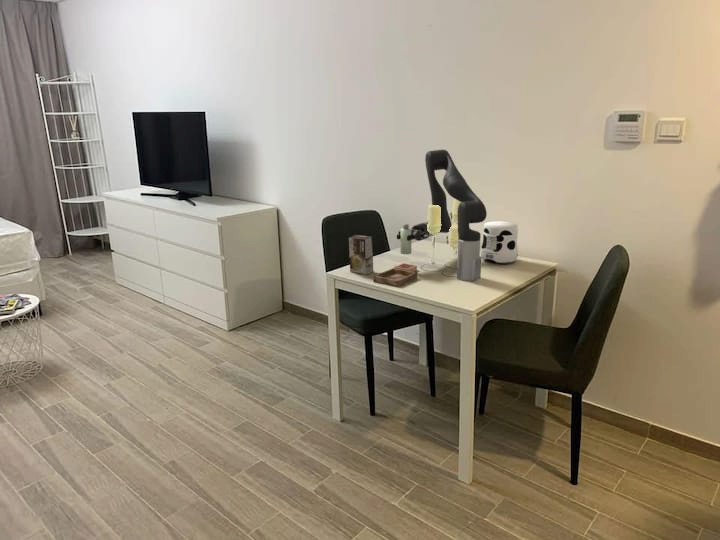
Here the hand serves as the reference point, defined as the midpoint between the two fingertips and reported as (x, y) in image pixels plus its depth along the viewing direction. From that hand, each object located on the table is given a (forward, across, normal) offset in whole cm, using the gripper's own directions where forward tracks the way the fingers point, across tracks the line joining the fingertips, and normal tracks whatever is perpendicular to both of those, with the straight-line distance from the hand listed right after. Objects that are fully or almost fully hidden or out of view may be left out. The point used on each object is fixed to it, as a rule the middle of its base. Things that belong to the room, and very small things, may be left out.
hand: (402, 237), depth 239 cm
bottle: (-3, 0, +8) cm, 8 cm away
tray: (+11, +4, +16) cm, 20 cm away
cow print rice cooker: (-41, +28, +16) cm, 52 cm away
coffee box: (+9, -16, +16) cm, 25 cm away
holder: (-3, 0, +16) cm, 16 cm away
